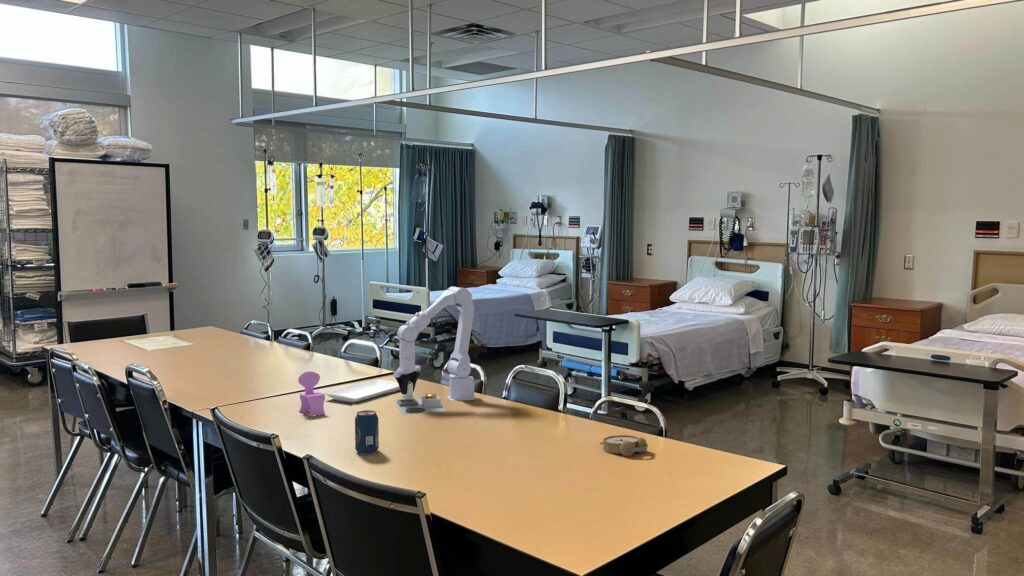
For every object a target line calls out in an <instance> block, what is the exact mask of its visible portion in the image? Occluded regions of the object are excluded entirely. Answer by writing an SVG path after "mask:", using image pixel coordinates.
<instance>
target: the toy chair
mask: <svg viewBox="0 0 1024 576" xmlns="http://www.w3.org/2000/svg"><path fill="white" fill-rule="evenodd" d="M320 380H321V376H320V374H319V373H317V372H314V371H312V370H311V371H309V370H308V371H305V372H303V373H301V374H300V375H299V377H298V379H297V381H298V384H299V385H300V386H302V387H303V388H304V392H301V393H300V394H299V399H300V404H301V405H300V408H299V410H298V413H299V412H301V413H304V412H303V411H307V412H309V415H308V417H309V416H312V417H315V416H314V415H318V416H320V415H319V414H323V415H326V412H325V410H324V405H325V400H326V396H325V395H326V394H324V393H323V392H320V391H318V390H314V387H315V386H317V385H318V384H319V381H320ZM309 410H311V411H309Z"/></svg>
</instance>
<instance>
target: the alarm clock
mask: <svg viewBox="0 0 1024 576" xmlns="http://www.w3.org/2000/svg"><path fill="white" fill-rule="evenodd" d="M599 445H603V447H602V450H603V452H606V453H609V454H618V455H619V454H620V455H622V456H623V457H631V456H633V455H634V454H635V453H636V452H637V453H639V454H644V453H645V452H646V451H647V450H648V447H649V444H648V443H647V441H646V439H645V438H644V437H638V436H635V435H629V434H628V435H626V434H620V435H618V434H617V435H610V436H609V435H608V436H606V437H604V438H602V442H599Z"/></svg>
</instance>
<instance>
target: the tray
mask: <svg viewBox="0 0 1024 576" xmlns="http://www.w3.org/2000/svg"><path fill="white" fill-rule="evenodd" d="M398 391H401V390H400V387H399V384H398V382H396V381H391V380H385V379H379V378H378V379H371V380H368V381H364V382H360V383H356V384H355V383H354V384H352V385H349V386H344V387H341V388H337V389H334V390H329V391H326V392H324V393H323V394H325V395H326V396H327V397H328V398H331V399H334V400H335V401H338V402H344V403H349V404H352V403H358V402H362V401H366V400H369V399H373V398H375V397H381V396H382V395H383V396H384V395H386V394H388V395H389V394H393V393H397V392H398Z"/></svg>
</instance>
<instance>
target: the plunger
mask: <svg viewBox="0 0 1024 576" xmlns="http://www.w3.org/2000/svg"><path fill="white" fill-rule="evenodd" d="M424 396H425V397H426V399H436V396H438V395H437V393H436V392H435V393H432V392H431V393H425V395H424Z"/></svg>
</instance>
